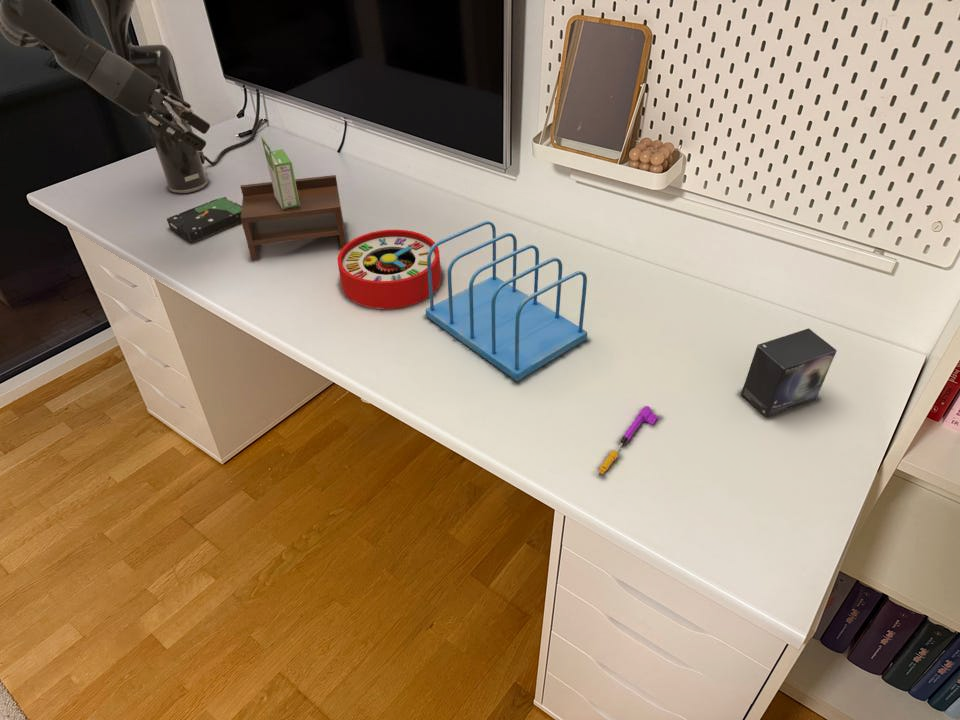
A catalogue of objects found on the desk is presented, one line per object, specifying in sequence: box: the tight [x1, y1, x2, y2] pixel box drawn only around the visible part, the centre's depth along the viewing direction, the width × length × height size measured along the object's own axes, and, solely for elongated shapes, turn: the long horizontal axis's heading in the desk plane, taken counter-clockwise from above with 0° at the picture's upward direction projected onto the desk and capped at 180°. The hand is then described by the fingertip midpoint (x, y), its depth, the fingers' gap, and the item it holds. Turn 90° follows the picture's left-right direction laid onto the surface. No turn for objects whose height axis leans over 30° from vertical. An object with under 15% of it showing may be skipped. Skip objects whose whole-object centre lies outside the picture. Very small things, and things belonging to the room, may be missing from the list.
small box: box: [740, 328, 838, 418], centre depth 108 cm, size 11×6×10 cm, turn 114°
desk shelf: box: [240, 174, 347, 261], centre depth 148 cm, size 11×20×12 cm, turn 102°
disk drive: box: [166, 196, 242, 243], centre depth 158 cm, size 10×3×15 cm
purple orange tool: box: [598, 405, 659, 475], centre depth 104 cm, size 3×1×16 cm
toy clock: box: [336, 229, 442, 310], centre depth 138 cm, size 20×6×20 cm
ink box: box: [260, 135, 300, 209], centre depth 141 cm, size 7×4×13 cm, turn 26°
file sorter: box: [425, 220, 588, 382], centre depth 122 cm, size 25×17×15 cm
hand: (206, 138), depth 134 cm, fingers open, 8 cm apart
